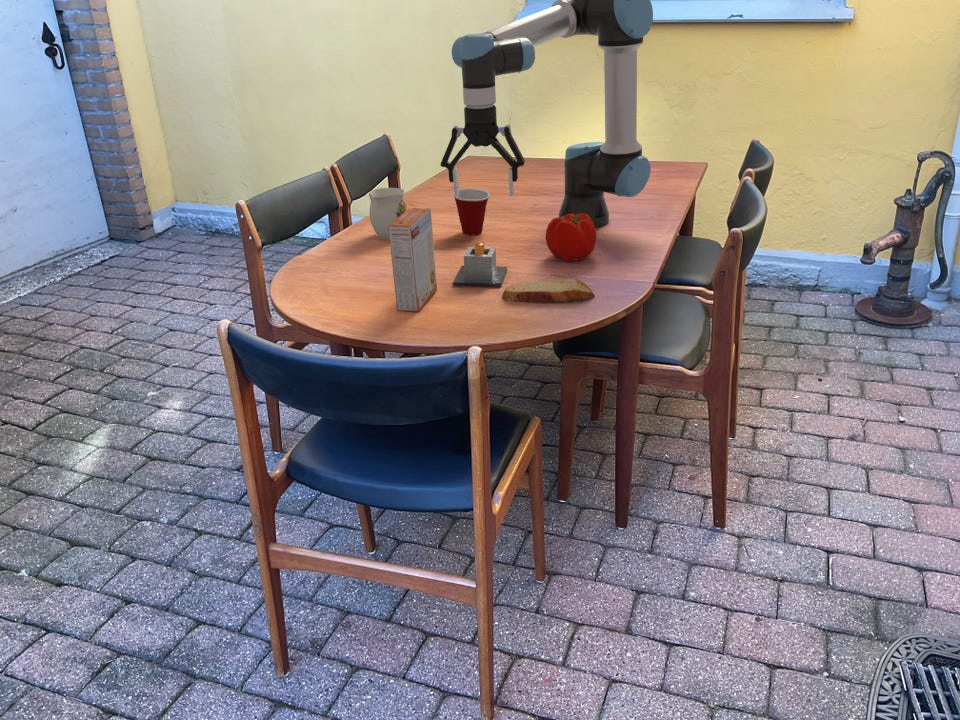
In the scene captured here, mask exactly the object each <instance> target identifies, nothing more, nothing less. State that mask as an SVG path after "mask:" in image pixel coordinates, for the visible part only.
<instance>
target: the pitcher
mask: <svg viewBox="0 0 960 720" xmlns="http://www.w3.org/2000/svg"><path fill="white" fill-rule="evenodd" d="M405 193H406V192H405V190H404V189H402V188H398V187H381V188H376V189H373V190H372V189H371V191H369V192H368V196H369V198H370V199H369V200H370V203H369V219H370V223H371V227H372V228H373V230H374V232H375V234H376V235H377V236H378V238H380V239H382V240H390V239H389V230H388V226H389V225H390V224H391V223H392V222H394V221H395V220H396V219H397V218H398V217H399V216H401V215H402V214H403V213H404V212H405V211H406V210H408V208H407V204H406V202H405Z"/></svg>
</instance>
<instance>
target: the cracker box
mask: <svg viewBox="0 0 960 720" xmlns="http://www.w3.org/2000/svg"><path fill="white" fill-rule="evenodd" d="M388 230H389V239H388V240H389V246H390V255H391V264H392V274H393V275H392V276H393V285H394V294H395V303H396V304H395V305H396V311H398V312H399V311H400V312H411V313H420V312H421V310H422V309H423V307H425V305H426V304H427V303H428V302H429V301H430V299H431V298H432V297H433V296H434V294H435V293H436V292H437V290H438V285H437V283H438V282H437V274H436V259H435V249H434V246H435V245H434V238H433V237H434V233H433V232H434V231H433V222H432V209H431V208H420V207H419V208H418V207H410V208H409V207H408V208H407V210H406V211H405V212H404V213H403V214H402V215H401V216H399V217H398V218H397V219H396V220H395V221H394V222H392V223H391V224H390V225H389V226H388Z"/></svg>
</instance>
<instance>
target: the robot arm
mask: <svg viewBox="0 0 960 720" xmlns="http://www.w3.org/2000/svg"><path fill="white" fill-rule="evenodd" d="M653 9H654V8H653V4H652V2H651V0H556V1H554V2H553V3H552V4H551V7H548V8H545V9H543V10H541V11H538V12H535V13H532V14H530V15H527V16H525V17H521V18H519V19H516V20H514V21H511V22H508V23H506V24H504V25H501V26H498V27H496V28H495V27H494V28H493V29H490V30H487V31H485V32H482V33H470V34H465V35H462V36H460V37H458V38H456V39H455V40H454V42H453V44H452V47H451V58H452V61H453V63H454V64H455V65H456V66H457V67H458V68H461V77H462V97H463V98H462V99H463V100H462V101H463V105H464V106H465V107H464V108H463V111H464V113H463V114H464V116H463V117H464V127H458V126H457V125H454V126H453V127H452V129H451V138H450V140H449V143H448V144H447V148H446V149H445V153H444V155H443V157H442V159H441V162H440V167H442V168H446V169H448V181H449V183H453V193H454V196H453V198H454V197H456V196H458V195H459V190H460V182H459V170H458V169H459V168H458V166H456V164H457V163H458V162H459V161H460V160H461V158H462V157H463V155H464V154H465V153H466V152H467V151H468V149H469V147H471V145H472V146H473V147H476V148H477V147H489V146H491V147H492V148H493V149H495V150H496V152H497V153H498V154H499V155H500V156H501V157H502V158H503V160H504V161H505V162H506V163H507V164H508V165H509V168H508V188H509V189H508V191H509V193H508V195H509V197H513V196H514V194H515V189H514V183H515V182H516V183H517V181H518V178H519V176H518V174H519V172H518V168H519V167H524V165H525V163H526V160H525V157H524V156H523V155H522V152H521V150H520V148H519V147H518V144H517V142H516V140H515V139H514V137H513V135H512V130H511V125H509V124H506V125H505V126H500V127H499V125H498V123H497V122H498V121H497V106H496V105H495V104H496V103H497V98H496V95H497V94H496V93H497V92H496V77H497V76H502V75H508V74H513V73H514V74H515V73H518V74H520V73H521V72H524V71H528V70H529V69H531V68H532V66H534V63H535V59H536V49H535V47H537V46H540V45H542V44H544V43H547V42H549V41H552V40H555V39H557V38H562V39H567V38H571V37H573V36H577V35H578V36H581V35H583V36H584V35H587V36H597V42H598V43H597V44H598V47H599V48H600V49H601V50H602V52H603V57H604V59H603V61H604V63H603V64H604V68H603V69H604V132H605V134H604V137H605V138H604V139H605V140H604V142H602V141H589V142H582V143H576V144H572V145H569V146H568V147H566V149H565V157H564V160H563V161H564V196H563V197H564V198H563V201H562V202H561V206H560V209H559V212H558V217H559V218H561V217H563V216H565V215H567V214H575V215H576V214H578V215H579V214H580V213H584V214H587V215H589V217H590V219H591V220H592V221H593V222H594V226H595V228H596V227H597V228H598V227H601V226H605V225H606V224H609V221H610V213H609V208H608V205H607V202H606V199H605V196H604V195H605V193H607V194H611V195H615V196H617V197H626V198H634V197H636V196H637V195H639V194H640V193H641V192H642V191H644V189H645V187H646V186H647V184H648V181H649V179H650V177H651V170H652V166H651V162H650V160H649V159H648V158H647V157H645V155H643V146H642V144H641V143H640V142H639V141H638V140H637V137H638V134H637V131H638V130H637V128H638V126H637V124H638V123H637V122H638V121H637V120H638V119H637V116H638V115H637V114H638V108H637V107H638V105H637V103H638V97H637V96H638V49H639V48H640V47H641V46H642V45H643V43H644V37H645V36H647V34H649V32H650V30H651V28H650V27H651V26H652V24H653V21H654V10H653ZM499 133H500V134H501V135H502V136H503V137H504V138H505V140H506V142H507V145H508V146H509V148H510V150H511V152H512V154H513V156H514V157H515V158H514V157H513V156H512V155H511V154H510V152H508V150H507V149H506V148H505V147H504V145H502V143H501V142H500V140H499V139H498V138H497V135H498V134H499ZM462 134H463V135H464V136H465V137H466V139H467V140H466V142H465V143H464V144H463V146H462V147H461V148H460V150H458V152H457V153H456V155H455V156H454V158H453V159H451V161H449V159H450V157H451V155H452V152H453V150H454V148H455V146H456V142H457V140H458V138H459V137H461V135H462ZM455 166H456V167H455Z"/></svg>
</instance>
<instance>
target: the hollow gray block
mask: <svg viewBox="0 0 960 720" xmlns="http://www.w3.org/2000/svg"><path fill="white" fill-rule="evenodd" d="M484 250H485V255H475V246H467V249H466V250H465V253H464V254H463V266H464V274H465V279H489V280H492V279H493V277H494V274H495V272H496V266H497V255H496V253H497V252H496V251H497V250H496V247H494V246H493V247H491V246H489V247H488V246H487V247H486V246H484Z"/></svg>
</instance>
